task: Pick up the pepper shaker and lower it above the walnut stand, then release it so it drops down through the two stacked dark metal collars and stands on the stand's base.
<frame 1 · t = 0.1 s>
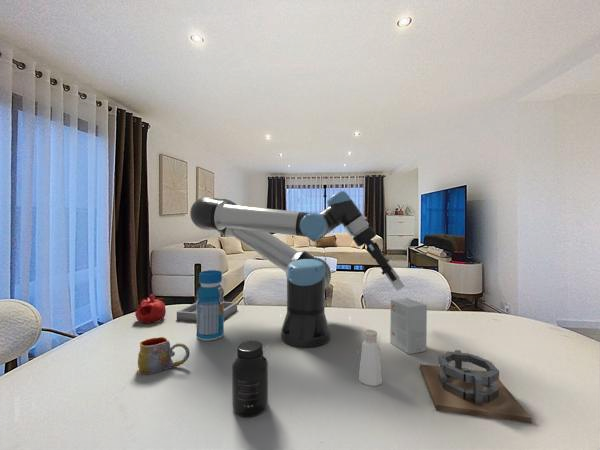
hand: (398, 283, 96), 15 cm above the table, tool tilted 35°, fingers open, 13 cm apart
pipe fitting: (209, 313, 109), point 1 cm above the table, touching parts tray
collar base: (466, 391, 61), on the table
mug: (164, 368, 70), on the table
parts tray: (208, 314, 109), on the table
supplement bottle: (250, 407, 56), on the table
small box: (407, 347, 82), on the table
pepper shaker: (370, 380, 65), on the table
pomegranate: (150, 320, 103), on the table
beverage bottle: (210, 336, 89), on the table
collar frame: (467, 375, 61), on the collar base, point 4 cm above the table
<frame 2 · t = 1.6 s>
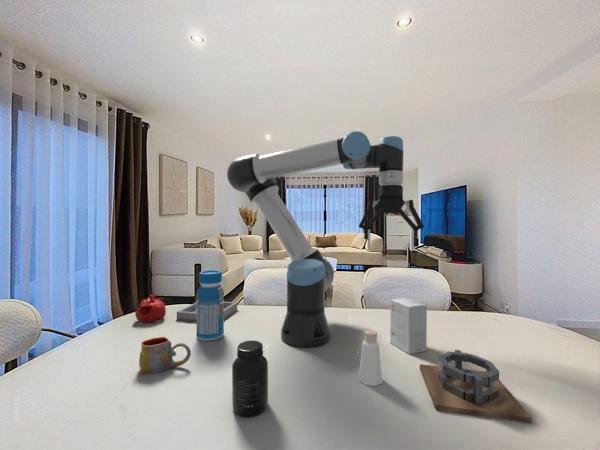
hand: (390, 250, 95), 27 cm above the table, tool pointing down, fingers open, 13 cm apart
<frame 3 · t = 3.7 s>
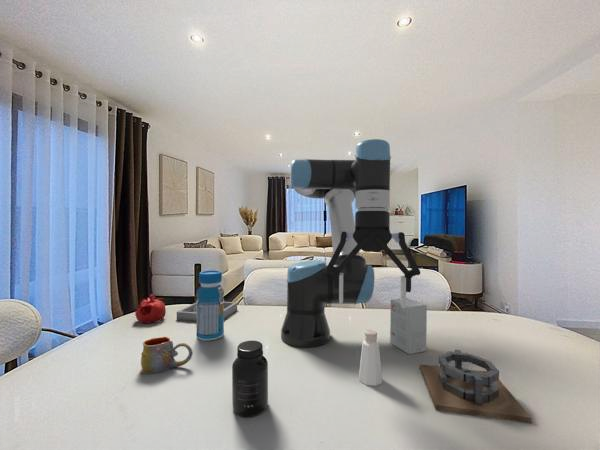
hand: (371, 304, 65), 17 cm above the table, tool pointing down, fingers open, 13 cm apart
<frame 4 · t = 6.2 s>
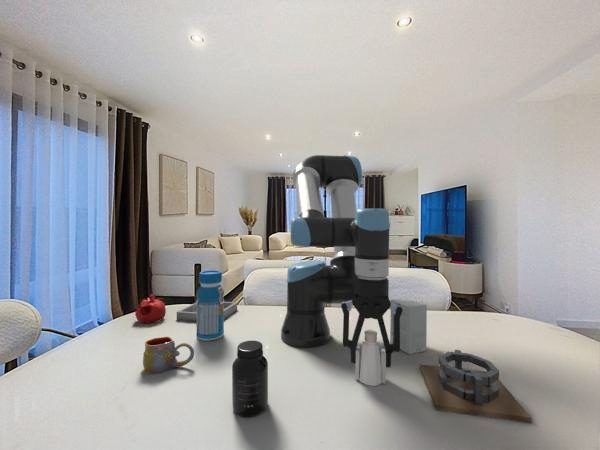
hand: (370, 378, 65), 0 cm above the table, tool pointing down, fingers closed on pepper shaker, 5 cm apart
pepper shaker: (370, 380, 65), on the table, touching gripper
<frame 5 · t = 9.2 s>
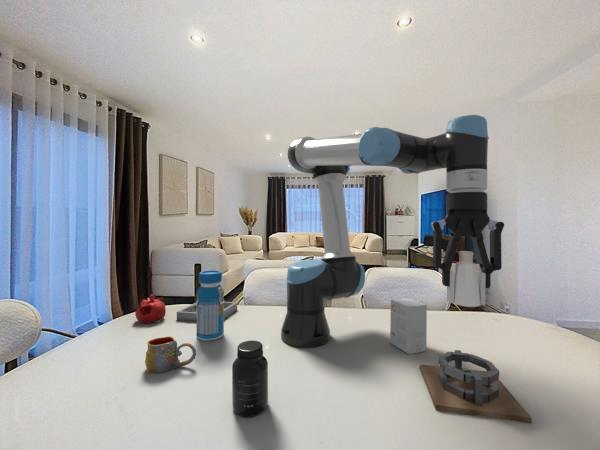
hand: (465, 302, 61), 19 cm above the table, tool pointing down, fingers closed on pepper shaker, 5 cm apart
pepper shaker: (465, 304, 61), point 19 cm above the table, touching gripper
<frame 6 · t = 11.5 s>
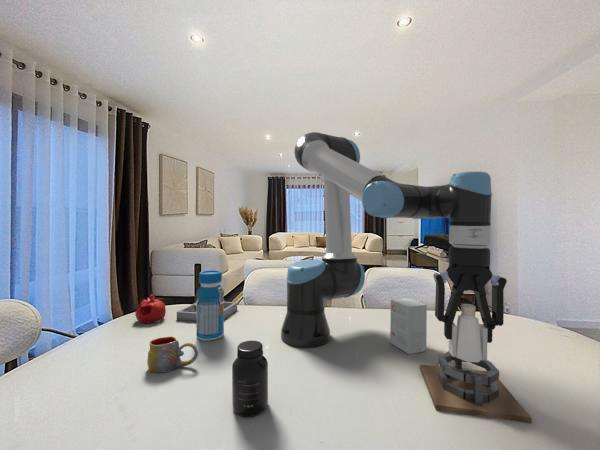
hand: (467, 355, 61), 8 cm above the table, tool pointing down, fingers closed on pepper shaker, 5 cm apart
pepper shaker: (467, 357, 61), point 7 cm above the table, touching gripper
when the fingers open (8 cm above the table, at t = 12.4 s): pepper shaker drops 6 cm, resting on collar base.
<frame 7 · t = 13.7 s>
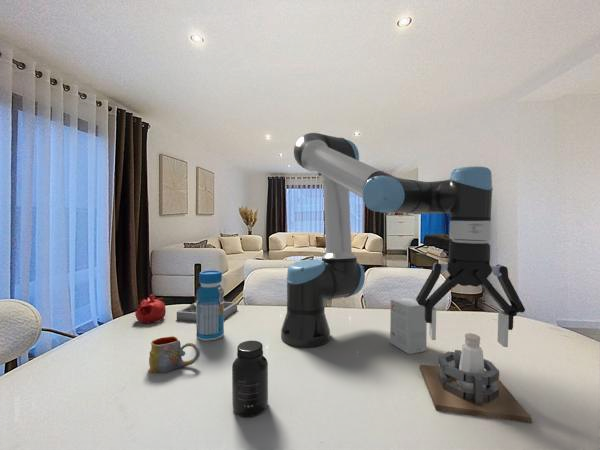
hand: (466, 341, 61), 11 cm above the table, tool pointing down, fingers open, 13 cm apart
pepper shaker: (471, 387, 61), point 1 cm above the table, touching collar base
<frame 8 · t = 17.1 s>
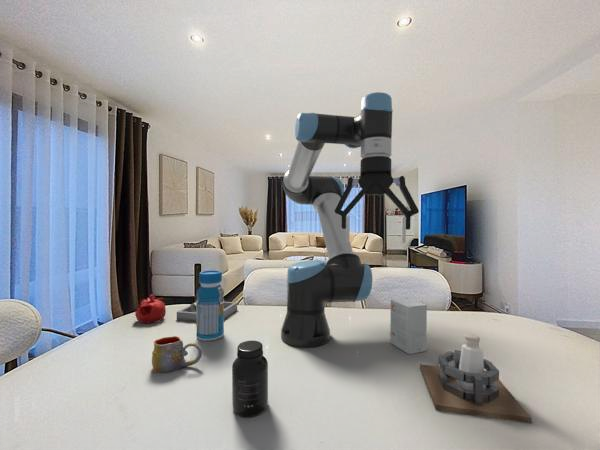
hand: (374, 242, 72), 31 cm above the table, tool pointing down, fingers open, 13 cm apart
at the end: pepper shaker 0.9 cm off-centre on the collar frame, point 0.8 cm above the collar frame's base; pepper shaker tilted 0°; the gripper is holding nothing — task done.
